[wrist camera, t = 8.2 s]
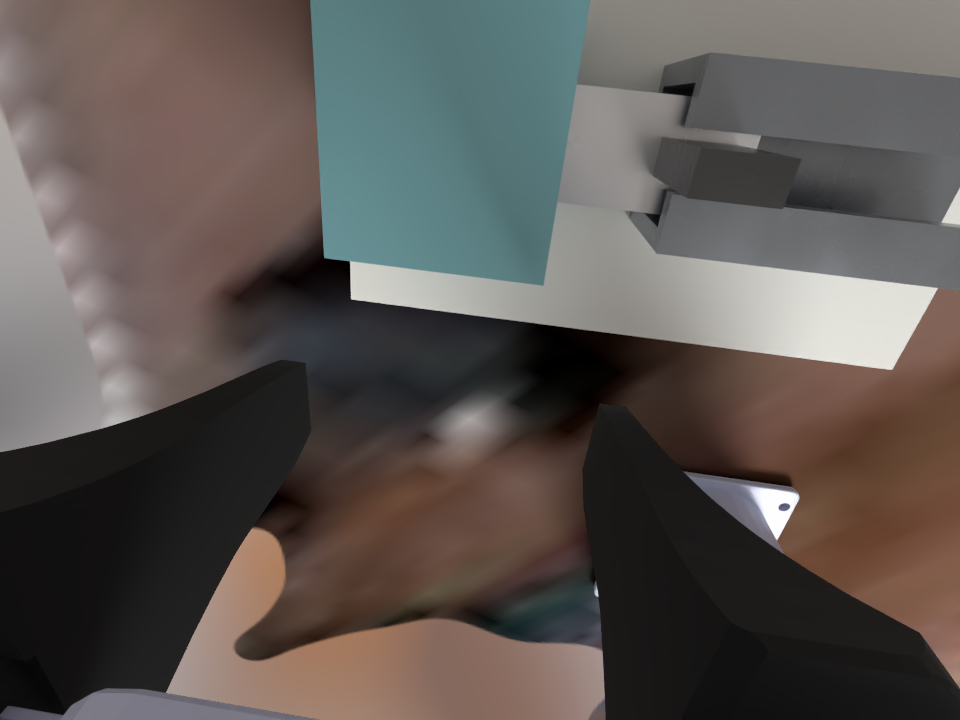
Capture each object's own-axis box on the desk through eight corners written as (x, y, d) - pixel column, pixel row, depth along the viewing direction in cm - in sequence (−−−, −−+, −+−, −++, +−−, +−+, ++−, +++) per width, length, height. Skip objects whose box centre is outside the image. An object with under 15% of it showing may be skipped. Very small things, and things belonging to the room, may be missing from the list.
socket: (542, 237, 19) (543, 285, 14) (379, 217, 19) (324, 257, 14) (576, 14, 15) (594, -26, 11) (378, -5, 16) (306, -54, 11)
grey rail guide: (911, 251, 18) (1030, 299, 13) (628, 218, 18) (656, 253, 14) (990, 99, 15) (1163, 98, 11) (664, 65, 16) (711, 52, 12)
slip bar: (701, 203, 17) (788, 258, 11) (410, 170, 17) (345, 204, 11) (730, 104, 15) (849, 105, 9) (413, 70, 16) (340, 51, 10)
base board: (877, 358, 20) (892, 369, 20) (358, 291, 22) (351, 299, 21) (1112, -79, 14) (1150, -91, 13) (349, -145, 15) (337, -160, 14)
